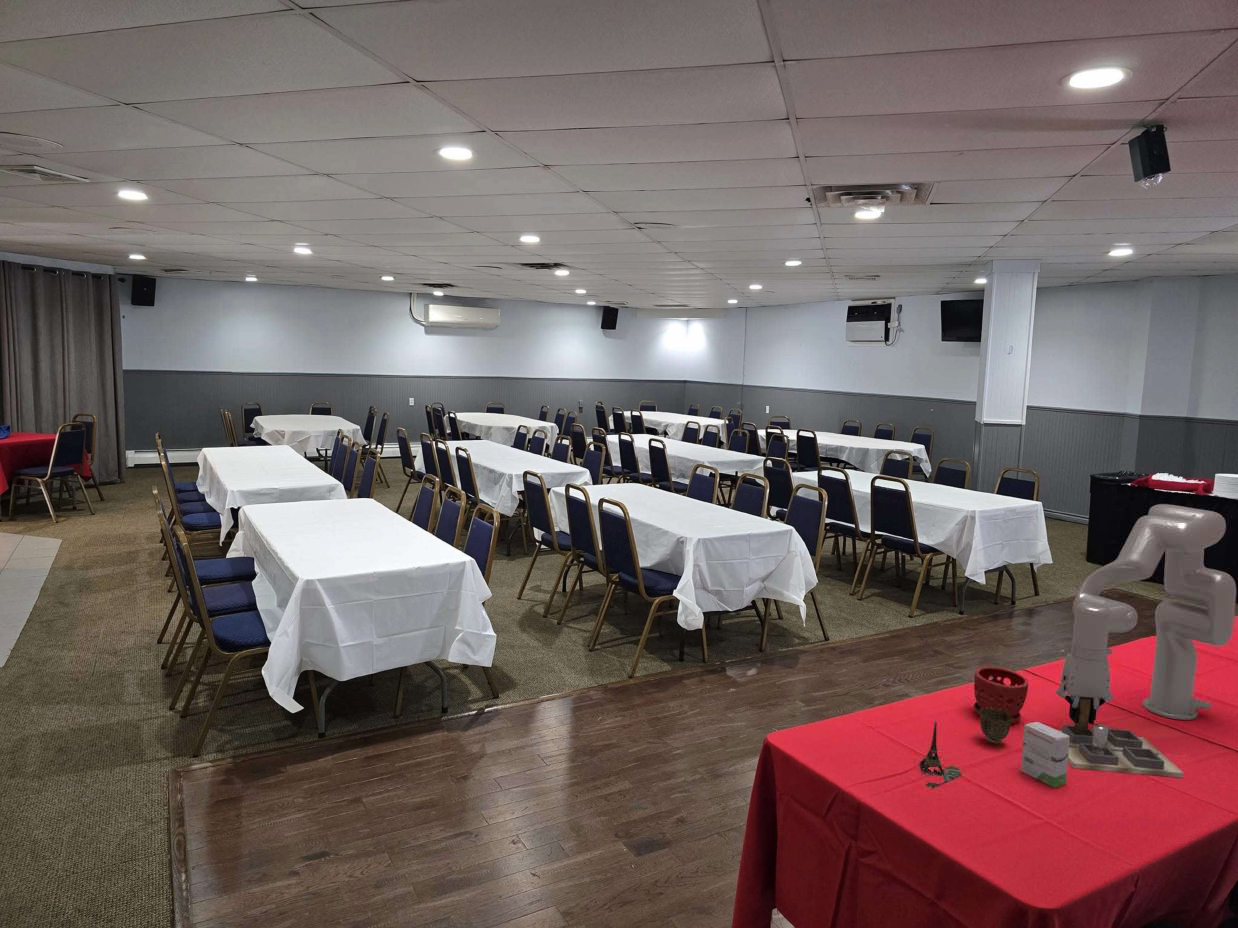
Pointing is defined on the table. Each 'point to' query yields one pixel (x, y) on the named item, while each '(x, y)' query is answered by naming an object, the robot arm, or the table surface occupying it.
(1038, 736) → the ink box
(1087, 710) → the walnut pin
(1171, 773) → the board
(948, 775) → the eiffel tower figurine
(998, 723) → the cup
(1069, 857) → the table surface
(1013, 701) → the plant pot
